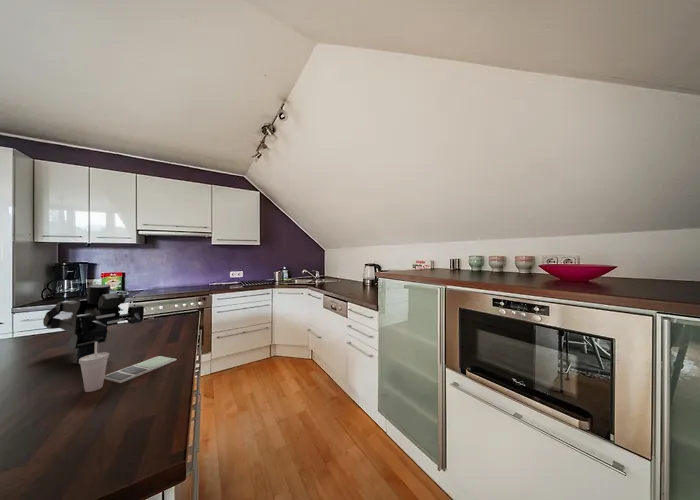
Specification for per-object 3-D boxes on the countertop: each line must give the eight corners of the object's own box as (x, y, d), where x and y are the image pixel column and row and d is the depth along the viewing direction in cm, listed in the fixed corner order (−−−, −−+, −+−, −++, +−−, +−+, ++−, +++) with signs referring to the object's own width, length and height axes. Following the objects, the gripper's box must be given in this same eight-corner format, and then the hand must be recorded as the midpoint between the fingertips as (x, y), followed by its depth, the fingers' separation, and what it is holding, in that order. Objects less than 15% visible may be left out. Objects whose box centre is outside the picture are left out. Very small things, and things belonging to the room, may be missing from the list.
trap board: (101, 378, 79) (101, 376, 79) (158, 357, 96) (158, 355, 96) (120, 383, 76) (120, 381, 76) (176, 360, 92) (176, 358, 92)
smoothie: (88, 395, 69) (89, 346, 70) (71, 393, 71) (72, 344, 71) (114, 384, 76) (115, 338, 76) (98, 382, 77) (99, 337, 77)
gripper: (65, 296, 81) (88, 306, 75) (133, 289, 98) (156, 297, 92) (63, 329, 81) (85, 341, 75) (131, 316, 98) (153, 325, 92)
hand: (124, 324), depth 84 cm, fingers open, 9 cm apart
